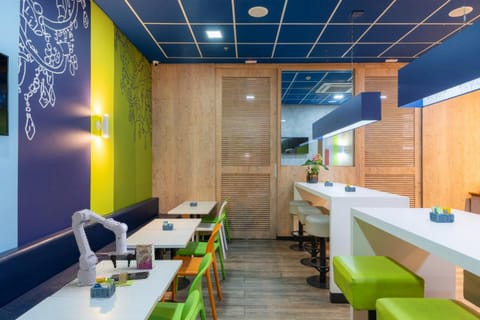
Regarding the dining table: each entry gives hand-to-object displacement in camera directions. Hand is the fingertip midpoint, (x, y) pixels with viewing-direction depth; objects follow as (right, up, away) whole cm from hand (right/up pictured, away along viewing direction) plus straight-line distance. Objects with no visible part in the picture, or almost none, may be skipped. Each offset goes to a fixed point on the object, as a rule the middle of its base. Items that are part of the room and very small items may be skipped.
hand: (122, 267), depth 179 cm
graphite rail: (+2, -9, +7) cm, 12 cm away
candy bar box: (+7, -9, +24) cm, 26 cm away
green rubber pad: (+2, -9, -2) cm, 10 cm away
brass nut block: (+2, -9, -2) cm, 9 cm away
